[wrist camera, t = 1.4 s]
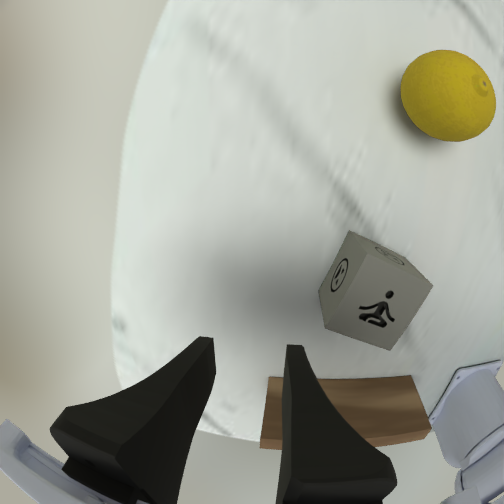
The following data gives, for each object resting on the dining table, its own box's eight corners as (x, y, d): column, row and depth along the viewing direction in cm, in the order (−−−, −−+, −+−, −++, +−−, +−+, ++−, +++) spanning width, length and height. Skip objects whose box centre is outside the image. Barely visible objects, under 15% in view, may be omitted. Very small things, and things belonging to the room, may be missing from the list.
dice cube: (318, 290, 20) (324, 328, 15) (348, 230, 18) (367, 253, 14) (372, 312, 20) (390, 350, 15) (404, 257, 18) (433, 285, 14)
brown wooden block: (405, 386, 22) (424, 438, 15) (268, 388, 24) (259, 448, 17) (410, 375, 21) (431, 428, 15) (268, 376, 23) (260, 438, 17)
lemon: (458, 133, 14) (529, 130, 7) (403, 152, 16) (468, 151, 8) (430, 65, 13) (489, 32, 6) (371, 78, 14) (418, 34, 7)
